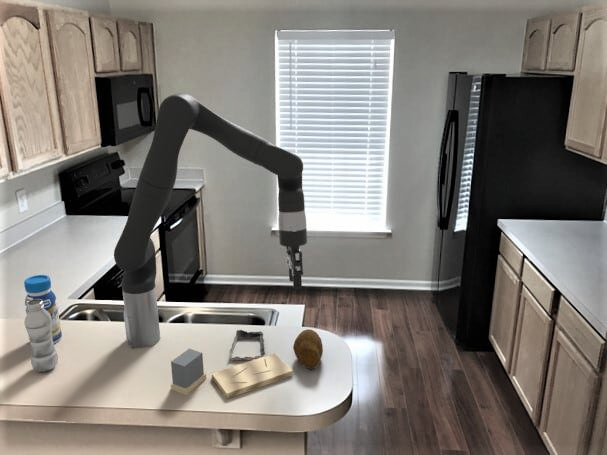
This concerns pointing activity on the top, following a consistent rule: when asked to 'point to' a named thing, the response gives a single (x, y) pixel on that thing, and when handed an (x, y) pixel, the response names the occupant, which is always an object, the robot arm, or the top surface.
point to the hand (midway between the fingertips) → (295, 285)
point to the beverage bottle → (44, 300)
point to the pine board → (251, 375)
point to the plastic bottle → (40, 336)
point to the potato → (308, 348)
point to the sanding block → (187, 371)
